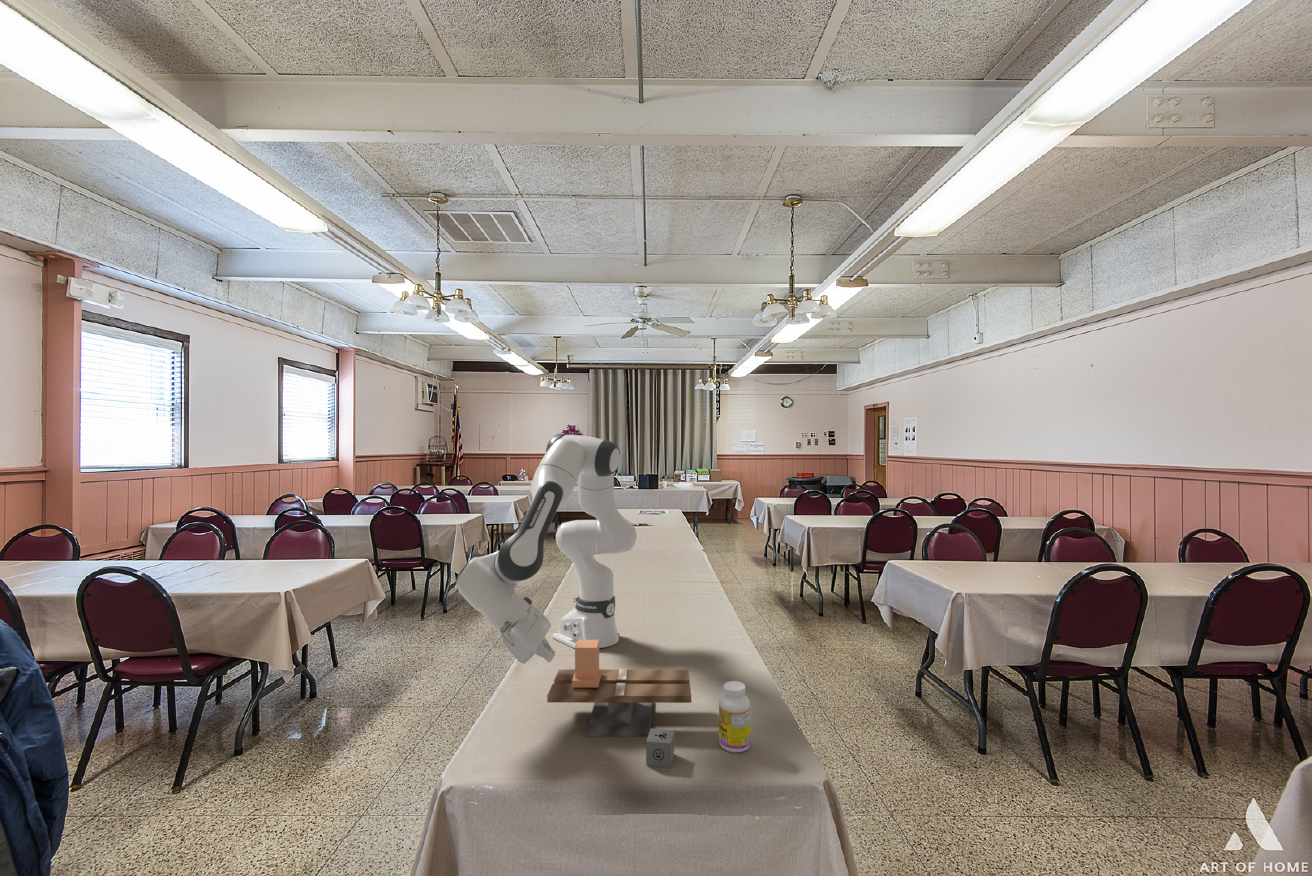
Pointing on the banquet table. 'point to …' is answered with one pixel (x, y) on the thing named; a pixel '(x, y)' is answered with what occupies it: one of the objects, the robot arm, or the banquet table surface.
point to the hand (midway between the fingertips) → (552, 658)
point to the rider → (587, 664)
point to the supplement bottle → (734, 718)
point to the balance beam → (623, 698)
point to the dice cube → (660, 748)
